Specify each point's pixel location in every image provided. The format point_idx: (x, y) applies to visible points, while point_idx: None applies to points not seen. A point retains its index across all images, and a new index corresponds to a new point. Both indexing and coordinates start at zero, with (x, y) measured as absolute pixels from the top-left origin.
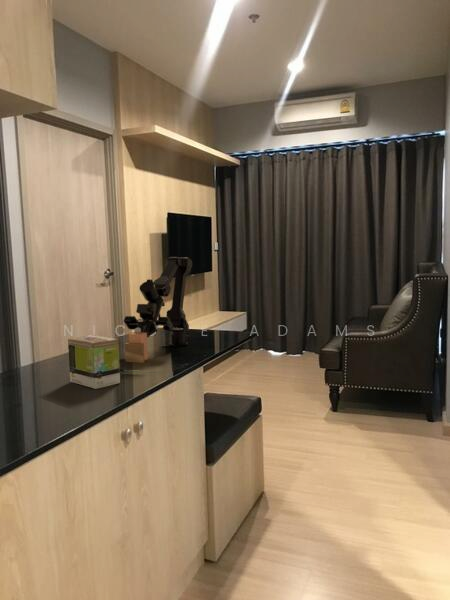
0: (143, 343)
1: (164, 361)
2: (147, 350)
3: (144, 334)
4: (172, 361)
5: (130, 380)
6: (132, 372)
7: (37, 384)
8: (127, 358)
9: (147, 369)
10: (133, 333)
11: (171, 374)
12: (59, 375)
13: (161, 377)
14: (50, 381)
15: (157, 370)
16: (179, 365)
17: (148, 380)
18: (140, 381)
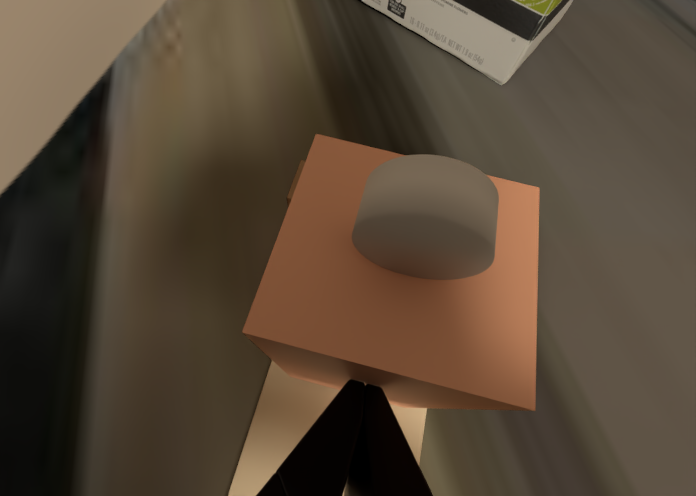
0: (289, 194)
1: (152, 414)
2: (282, 369)
3: (279, 246)
4: (79, 411)
5: (313, 22)
6: (339, 131)
7: (660, 13)
8: None
9: (265, 182)
10: (495, 258)
11: (120, 83)
12: (682, 110)
13: (174, 46)
14: (643, 39)
15: (200, 158)
16: (41, 268)
17: (233, 15)
18: (266, 8)
